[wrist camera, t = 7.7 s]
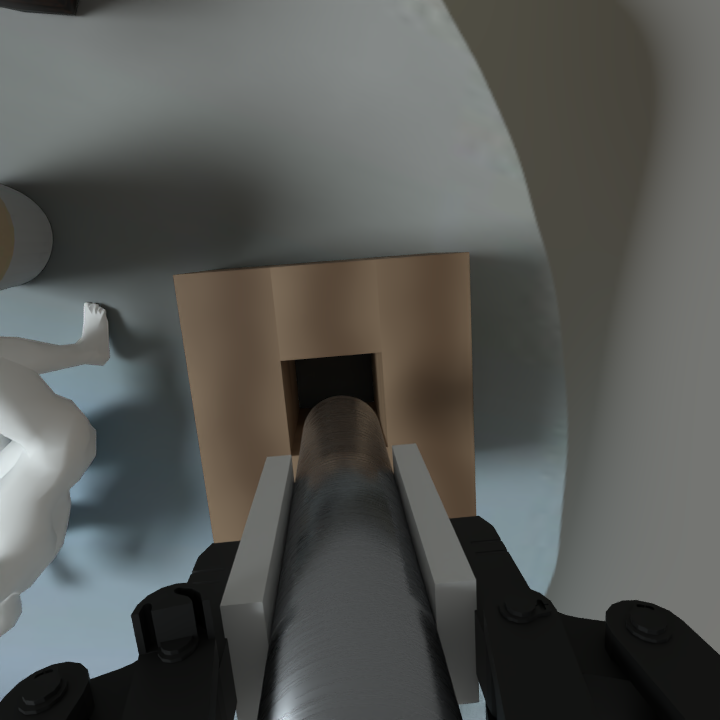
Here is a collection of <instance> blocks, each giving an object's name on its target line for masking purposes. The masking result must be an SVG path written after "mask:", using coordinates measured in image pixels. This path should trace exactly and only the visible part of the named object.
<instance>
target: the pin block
mask: <svg viewBox="0 0 720 720" xmlns="http://www.w3.org/2000/svg"><path fill="white" fill-rule="evenodd" d="M173 279H174V285H175V292H176V298H177V305H178V311H179V318H180V324H181V331H182V337H183V344H184V350H185V357H186V363H187V370H188V376H189V383H190V389H191V396H192V402H193V409H194V415H195V422H196V428H197V435H198V441H199V448H200V455H201V461H202V468H203V474H204V481H205V487H206V494H207V500H208V507H209V513H210V520H211V526H212V533H213V539H214V543H221V542H231V541H241V538H242V534H243V531H244V528H245V525H246V522H247V519H248V515H249V512H250V509H251V506H252V503H253V499H254V496H255V493H256V490H257V487H258V484H259V480H260V477H261V474H262V471H263V468H264V465H265V461H266V458H267V457H273V456H284V455H291V456H292V465H293V474H294V483H295V477H296V471H297V465H298V459H299V452H300V446H301V440H302V434H303V427H304V423H305V420H306V418H307V416H308V414H309V412H310V411H311V410H312V409H313V408H314V407H311V408H300V405H299V395H298V386H297V376H296V367H295V360H297V359H308V358H320V357H332V356H344V355H355V354H367V353H371V365H372V379H373V393H374V402H366V404H368V405H369V406H370V407H371V408H372V410H373V411H374V412H375V414H376V415H377V418H378V420H379V423H380V427H381V431H382V434H383V438H384V441H385V445H386V448H387V452H388V456H389V459H390V463H391V466H392V470H393V455H392V446H393V445H404V444H414V443H416V445H417V447H418V449H419V451H420V454H421V456H422V458H423V461H424V463H425V465H426V467H427V470H428V472H429V474H430V476H431V479H432V481H433V483H434V486H435V488H436V490H437V492H438V495H439V497H440V499H441V501H442V504H443V506H444V508H445V510H446V513H447V515H448V517H449V519H450V518H460V517H470V516H476V490H475V452H474V414H473V375H472V337H471V299H470V261H469V252H457V253H427V254H414V255H401V256H388V257H375V258H362V259H349V260H336V261H323V262H309V263H296V264H283V265H270V266H257V267H244V268H231V269H218V270H208V271H200V272H193V273H185V274H177V275H173ZM393 473H394V471H393Z"/></svg>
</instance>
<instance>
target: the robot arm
mask: <svg viewBox="0 0 720 720" xmlns="http://www.w3.org/2000/svg"><path fill="white" fill-rule="evenodd" d="M392 455H393V471H394V477H395V481H396V484H397V488H398V491H399V495H400V498H401V502H402V506H403V509H404V513H405V516H406V520H407V523H408V527H409V531H410V534H411V538H412V541H413V545H414V548H415V552H416V556H417V559H418V563H419V566H420V570H421V573H422V577H423V581H424V584H425V588H426V591H427V595H428V598H429V602H430V606H431V609H432V613H433V616H434V620H435V623H436V627H437V631H438V634H439V638H440V641H441V645H442V648H443V652H444V655H445V659H446V663H447V666H448V670H449V673H450V677H451V680H452V684H453V688H454V691H455V695H456V698H457V702H458V705H459V704H468V703H477V702H479V683H480V686H481V689H482V692H483V695H484V698H485V701H486V720H720V655H719V654H718V653H717V652H716V651H715V650H714V649H713V648H712V647H711V646H709V645H708V644H707V643H706V642H705V641H704V640H703V639H702V638H701V637H700V636H699V635H698V634H697V633H695V632H694V631H693V630H692V629H691V628H690V627H689V626H688V625H687V624H686V623H685V622H684V621H682V620H681V619H680V618H679V617H677V616H676V615H674V614H673V613H672V612H670V611H669V610H666V609H664V608H662V607H659V606H657V605H655V604H652V603H647V602H643V601H638V600H631V601H629V600H626V601H620V602H618V603H615V604H612V605H611V606H610V607H609V609H608V610H607V611H606V621H599V620H591V619H584V618H577V617H573V616H568V615H564V614H562V613H559V612H557V610H556V608H555V607H554V605H553V604H552V602H551V601H550V600H549V599H547V598H546V597H545V596H543V595H542V594H541V593H539V592H536V591H534V590H531V589H530V588H529V586H528V584H527V583H526V581H525V579H524V578H523V576H522V574H521V573H520V571H519V569H518V567H517V566H516V564H515V562H514V561H513V559H512V557H511V556H510V554H509V552H507V549H506V547H505V545H504V544H503V542H502V541H501V539H500V537H499V535H498V534H497V532H496V530H495V528H494V527H493V526H492V525H491V524H490V523H488V522H487V521H485V520H484V519H483V518H481V517H480V516H470V517H460V518H450V519H449V517H448V515H447V513H446V510H445V508H444V506H443V504H442V501H441V499H440V497H439V495H438V492H437V490H436V488H435V486H434V483H433V481H432V479H431V476H430V474H429V472H428V470H427V467H426V465H425V463H424V461H423V458H422V456H421V454H420V451H419V449H418V447H417V445H416V443H414V444H404V445H393V446H392ZM294 484H295V483H294V474H293V465H292V456H291V455H284V456H273V457H267V458H266V461H265V465H264V468H263V471H262V474H261V477H260V480H259V484H258V487H257V490H256V493H255V496H254V499H253V503H252V506H251V509H250V512H249V515H248V519H247V522H246V525H245V528H244V531H243V534H242V538H241V541H231V542H221V543H212V544H211V545H210V546H209V547H208V548H207V549H206V550H205V551H204V552H203V553H202V554H201V555H200V556H199V557H198V559H197V561H196V564H195V566H194V568H193V571H192V574H191V575H190V578H189V580H188V582H187V583H178V584H173V585H170V586H167V587H163V588H161V589H159V590H157V591H155V592H153V593H152V594H150V595H148V596H147V597H146V598H145V599H143V600H142V601H141V602H140V603H139V604H138V605H137V606H136V608H135V610H134V611H133V613H132V615H131V618H132V623H133V628H134V633H135V637H136V642H137V647H138V652H139V657H138V660H137V661H136V662H134V663H132V664H130V665H128V666H125V667H123V668H121V669H118V670H115V671H112V672H110V673H107V674H104V675H101V676H98V677H95V678H92V679H90V677H89V673H88V669H86V668H85V667H84V666H83V665H82V664H81V663H74V662H64V663H58V664H53V665H50V666H48V667H46V668H43V669H41V670H39V671H36V672H35V673H33V674H32V675H30V676H28V677H27V678H25V679H24V680H22V681H21V682H19V683H18V684H17V685H16V686H15V687H14V688H13V689H12V690H11V691H10V692H9V693H8V694H7V695H6V696H5V697H4V698H3V699H2V701H1V702H0V720H234V715H235V710H236V712H237V718H238V720H257V716H258V710H259V704H260V697H261V691H262V685H263V678H264V672H265V666H266V660H267V653H268V647H269V641H270V634H271V628H272V622H273V616H274V609H275V603H276V597H277V591H278V584H279V578H280V572H281V565H282V559H283V553H284V547H285V540H286V534H287V528H288V521H289V515H290V509H291V503H292V496H293V490H294Z"/></svg>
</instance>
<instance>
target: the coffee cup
mask: <svg viewBox="0 0 720 720" xmlns="http://www.w3.org/2000/svg"><path fill="white" fill-rule="evenodd" d="M52 245H53V235H52V229H51V226H50V223H49V221H48V219H47V217H46V215H45V213H44V212H43V211H42V210H41V209H40V207H39V206H38V205H37V204H36V203H35V202H33V201H32V200H31V199H30V198H28V197H27V196H25V195H24V194H22V193H21V192H19V191H16V190H14V189H12V188H10V187H7V186H5V185H2V184H0V290H4V289H7V288H11V287H15V286H18V285H21V284H24V283H26V282H29V281H31V280H32V279H33V278H35V277H36V276H37V275H38V274H39V273H40V272H41V271H42V270H43V269H44V267H45V265H46V264H47V262H48V260H49V257H50V254H51V251H52Z"/></svg>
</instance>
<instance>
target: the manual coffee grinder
mask: <svg viewBox="0 0 720 720" xmlns="http://www.w3.org/2000/svg"><path fill="white" fill-rule="evenodd" d="M78 2H79V0H0V7H3V8H8V9H12V10H17V11H22V12H32V13H47V14H63V15H75V14H76V10H77V6H78Z"/></svg>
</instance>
